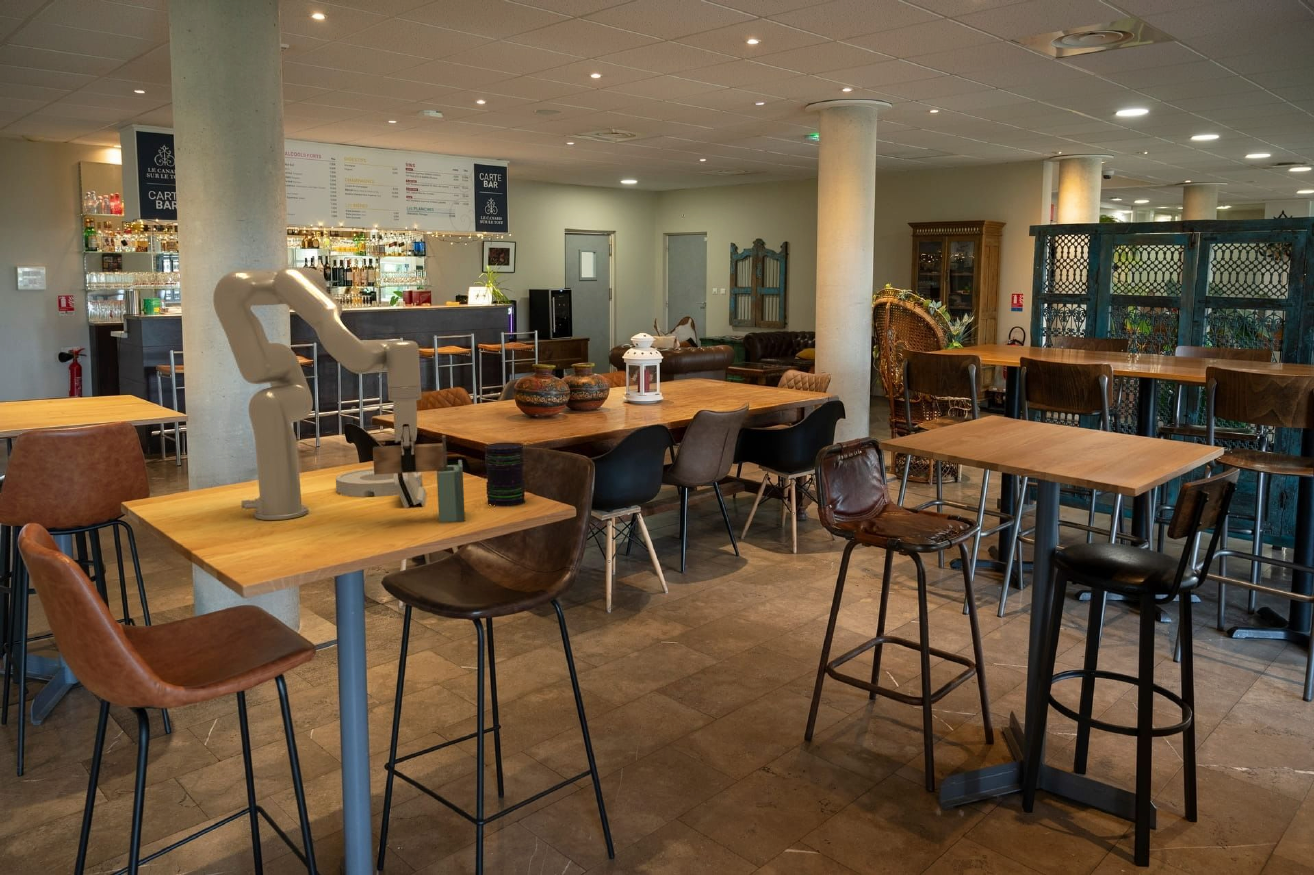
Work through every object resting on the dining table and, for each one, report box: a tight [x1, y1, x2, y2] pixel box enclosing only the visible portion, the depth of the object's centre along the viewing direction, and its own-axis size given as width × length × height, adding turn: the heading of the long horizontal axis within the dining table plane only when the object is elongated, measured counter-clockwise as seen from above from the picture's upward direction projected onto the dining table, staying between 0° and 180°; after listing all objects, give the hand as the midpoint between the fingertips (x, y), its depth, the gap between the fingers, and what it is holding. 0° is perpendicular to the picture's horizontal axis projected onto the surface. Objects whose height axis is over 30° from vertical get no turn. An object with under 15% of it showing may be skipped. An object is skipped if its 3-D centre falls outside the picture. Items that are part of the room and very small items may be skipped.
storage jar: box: [484, 442, 526, 507], centre depth 250 cm, size 10×10×15 cm
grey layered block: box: [394, 472, 428, 509], centre depth 254 cm, size 17×5×10 cm, turn 11°
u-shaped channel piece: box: [436, 459, 466, 524], centre depth 235 cm, size 6×10×13 cm, turn 13°
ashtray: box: [335, 467, 424, 498], centre depth 271 cm, size 23×23×4 cm
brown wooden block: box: [372, 434, 448, 475], centre depth 232 cm, size 17×4×8 cm, turn 103°
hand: (409, 468), depth 232 cm, fingers closed on brown wooden block, 4 cm apart
